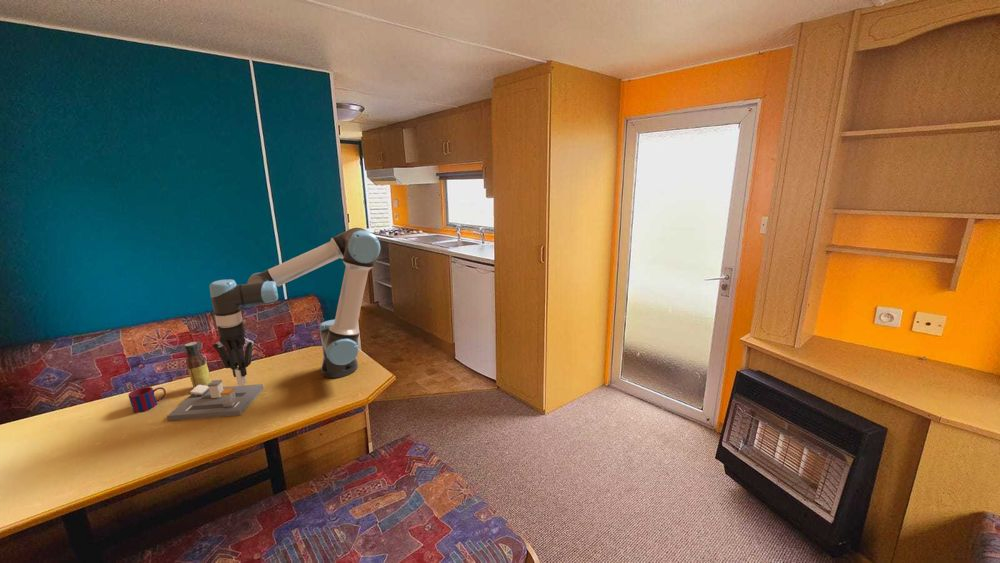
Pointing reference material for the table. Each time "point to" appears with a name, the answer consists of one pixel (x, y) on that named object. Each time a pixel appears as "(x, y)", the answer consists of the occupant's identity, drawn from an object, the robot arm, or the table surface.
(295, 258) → the robot arm
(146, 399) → the mug
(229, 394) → the block
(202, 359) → the sauce bottle
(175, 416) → the panel
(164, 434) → the table surface
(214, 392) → the slider cream
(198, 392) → the block
